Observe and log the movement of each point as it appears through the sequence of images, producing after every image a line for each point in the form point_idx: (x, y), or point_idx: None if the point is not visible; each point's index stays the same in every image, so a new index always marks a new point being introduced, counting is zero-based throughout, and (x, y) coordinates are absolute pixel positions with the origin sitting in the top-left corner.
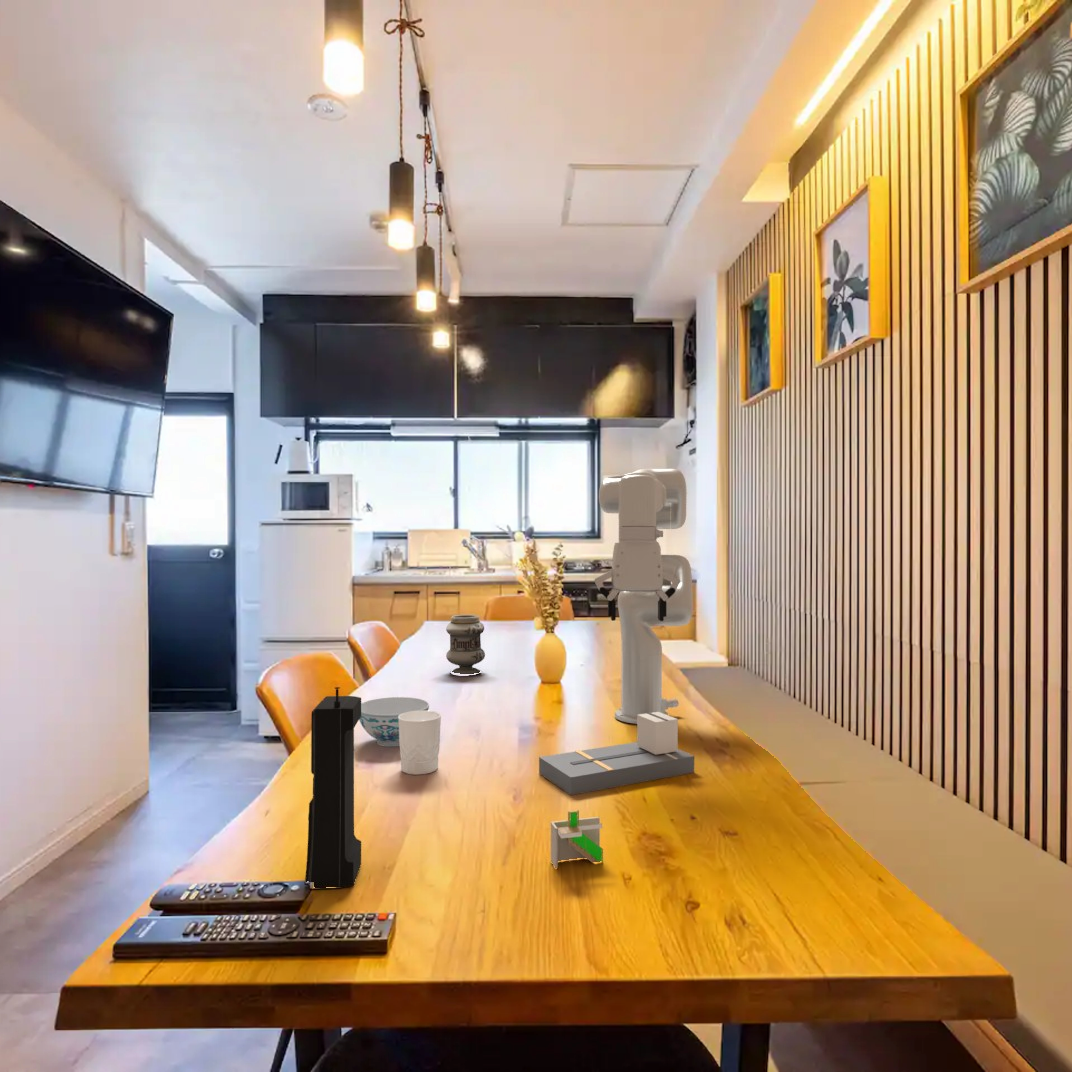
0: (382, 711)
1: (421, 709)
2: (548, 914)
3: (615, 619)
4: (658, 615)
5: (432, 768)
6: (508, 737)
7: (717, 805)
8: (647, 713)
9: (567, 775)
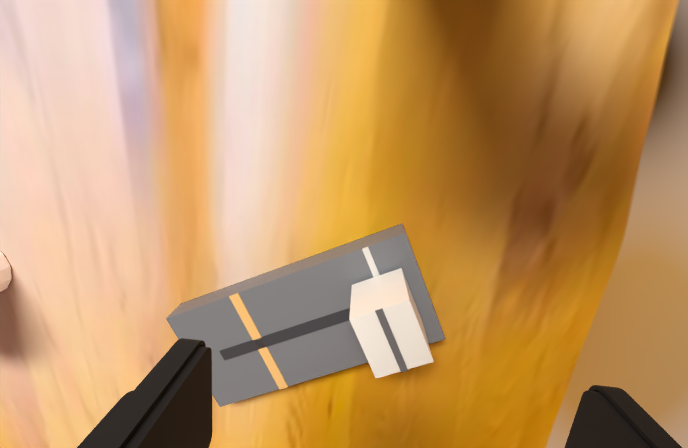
0: None
1: None
2: None
3: (209, 442)
4: (598, 445)
5: (3, 288)
6: (95, 79)
7: (422, 434)
8: (376, 313)
9: (215, 399)
